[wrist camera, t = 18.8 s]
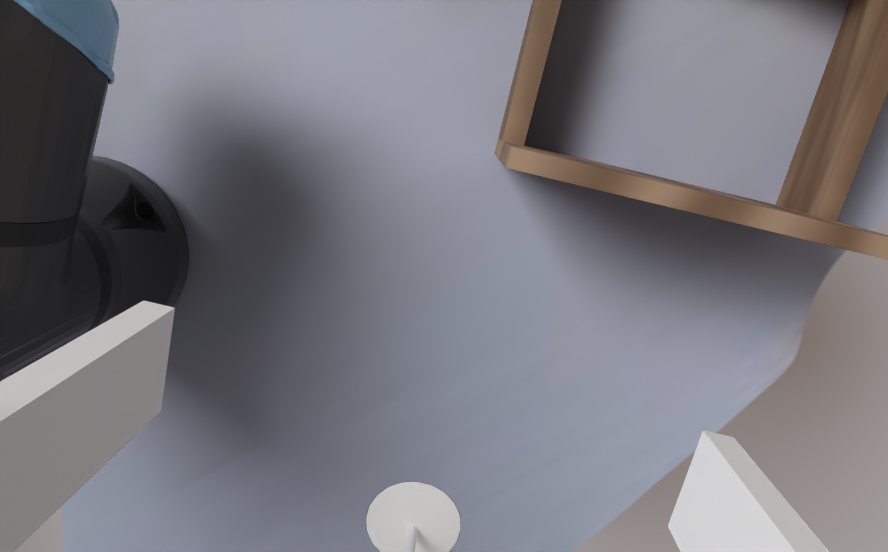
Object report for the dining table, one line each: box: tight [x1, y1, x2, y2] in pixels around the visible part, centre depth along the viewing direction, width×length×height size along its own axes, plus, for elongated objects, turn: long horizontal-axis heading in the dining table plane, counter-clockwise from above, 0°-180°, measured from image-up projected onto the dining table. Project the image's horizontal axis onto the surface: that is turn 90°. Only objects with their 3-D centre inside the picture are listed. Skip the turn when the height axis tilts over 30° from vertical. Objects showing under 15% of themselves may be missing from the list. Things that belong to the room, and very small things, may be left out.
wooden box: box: [495, 0, 888, 259], centre depth 40 cm, size 24×22×15 cm
